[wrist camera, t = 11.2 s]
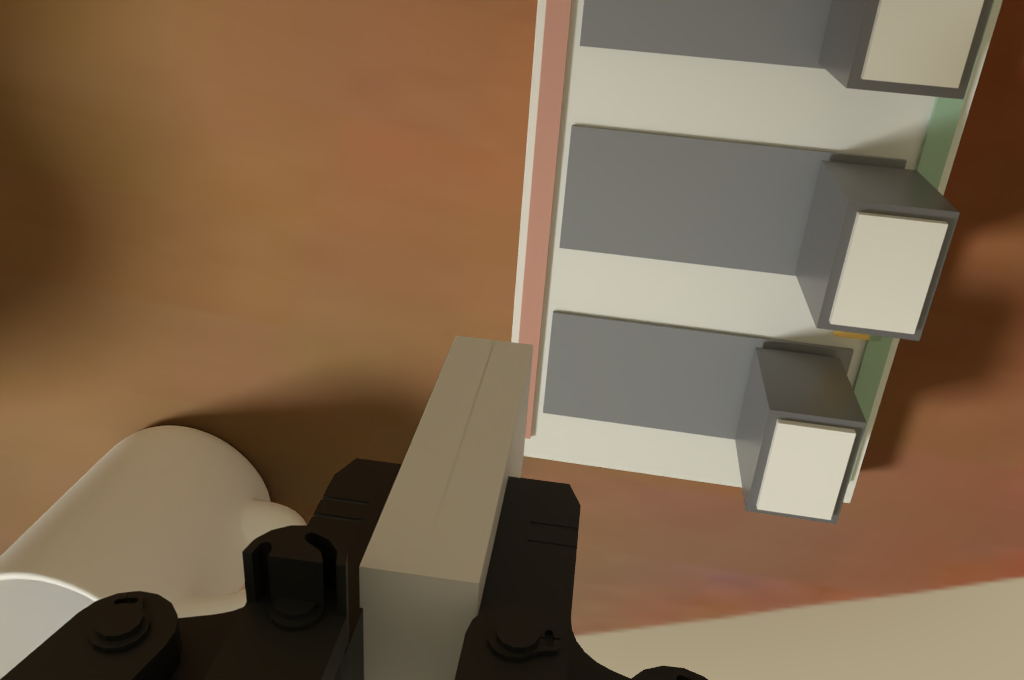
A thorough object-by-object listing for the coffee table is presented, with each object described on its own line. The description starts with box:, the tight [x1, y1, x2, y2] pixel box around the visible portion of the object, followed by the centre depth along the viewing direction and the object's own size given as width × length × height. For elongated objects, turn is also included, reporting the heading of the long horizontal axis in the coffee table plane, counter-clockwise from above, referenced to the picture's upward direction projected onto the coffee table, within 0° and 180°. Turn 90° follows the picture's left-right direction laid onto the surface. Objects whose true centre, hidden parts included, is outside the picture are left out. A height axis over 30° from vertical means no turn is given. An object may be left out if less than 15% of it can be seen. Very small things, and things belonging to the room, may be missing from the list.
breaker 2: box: [818, 0, 993, 99], centre depth 24 cm, size 3×4×5 cm
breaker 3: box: [795, 160, 960, 341], centre depth 27 cm, size 3×4×5 cm
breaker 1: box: [735, 347, 867, 524], centre depth 30 cm, size 3×4×5 cm
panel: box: [511, 0, 1003, 503], centre depth 29 cm, size 14×30×2 cm, turn 176°
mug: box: [0, 425, 306, 679], centre depth 37 cm, size 9×12×11 cm
